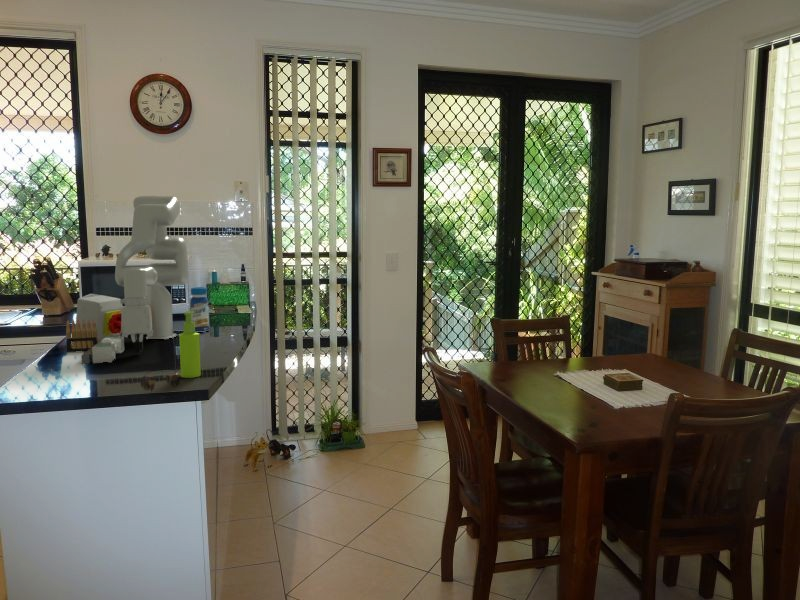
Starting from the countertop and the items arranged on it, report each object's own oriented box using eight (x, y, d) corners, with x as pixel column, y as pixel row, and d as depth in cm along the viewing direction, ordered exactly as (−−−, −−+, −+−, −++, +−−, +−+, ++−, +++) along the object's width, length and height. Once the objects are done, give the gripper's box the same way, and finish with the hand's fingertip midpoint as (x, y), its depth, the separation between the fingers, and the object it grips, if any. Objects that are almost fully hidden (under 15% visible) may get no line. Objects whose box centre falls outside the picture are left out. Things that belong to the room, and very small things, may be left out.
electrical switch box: (107, 351, 244) (111, 301, 241) (74, 344, 246) (77, 295, 244) (130, 345, 258) (134, 298, 255) (98, 338, 261) (102, 292, 258)
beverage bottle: (213, 330, 283) (211, 286, 281) (205, 333, 274) (203, 288, 272) (195, 330, 284) (193, 286, 282) (187, 333, 275) (185, 288, 273)
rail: (97, 351, 233) (96, 335, 232) (124, 350, 235) (123, 334, 235) (81, 364, 210) (80, 346, 209) (111, 362, 212) (110, 345, 212)
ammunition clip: (66, 352, 231) (64, 320, 230) (67, 351, 233) (65, 319, 232) (97, 350, 234) (96, 319, 233) (98, 349, 236) (97, 318, 235)
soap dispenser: (204, 372, 196) (201, 310, 194) (197, 377, 190) (195, 312, 188) (185, 372, 196) (182, 310, 194) (178, 377, 189) (175, 313, 187)
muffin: (112, 354, 227) (111, 335, 226) (120, 356, 223) (119, 337, 222) (95, 356, 222) (94, 337, 222) (102, 359, 218) (101, 339, 218)
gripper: (111, 303, 218) (114, 355, 220) (156, 302, 221) (158, 353, 223) (116, 301, 225) (118, 351, 227) (159, 300, 229) (161, 349, 231)
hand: (138, 352), depth 225 cm, fingers closed
